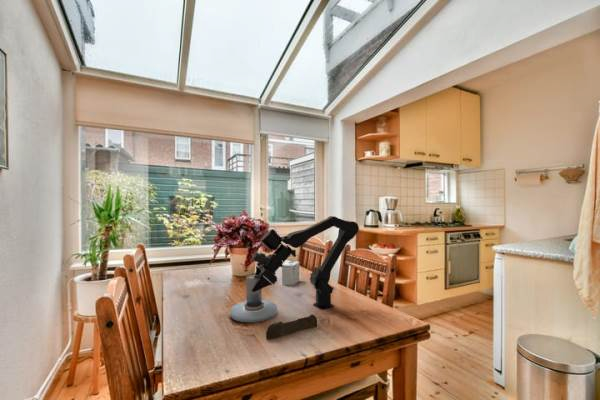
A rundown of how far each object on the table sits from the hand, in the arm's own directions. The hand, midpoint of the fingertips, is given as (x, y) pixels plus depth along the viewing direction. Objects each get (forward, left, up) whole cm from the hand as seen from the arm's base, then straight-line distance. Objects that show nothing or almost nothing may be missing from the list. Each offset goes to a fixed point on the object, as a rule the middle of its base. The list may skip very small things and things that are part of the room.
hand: (251, 287), depth 111 cm
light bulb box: (+30, -35, -11) cm, 47 cm away
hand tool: (-22, -6, -11) cm, 25 cm away
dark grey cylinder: (0, -1, -8) cm, 8 cm away
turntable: (0, -1, -10) cm, 10 cm away
